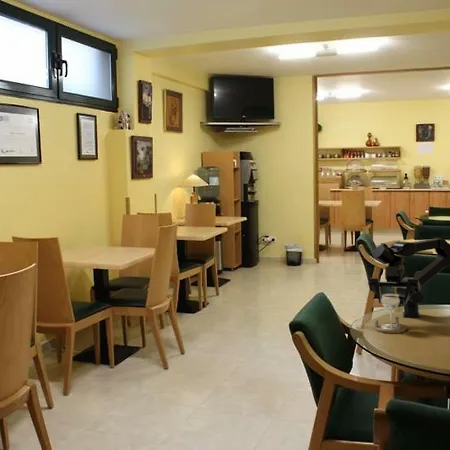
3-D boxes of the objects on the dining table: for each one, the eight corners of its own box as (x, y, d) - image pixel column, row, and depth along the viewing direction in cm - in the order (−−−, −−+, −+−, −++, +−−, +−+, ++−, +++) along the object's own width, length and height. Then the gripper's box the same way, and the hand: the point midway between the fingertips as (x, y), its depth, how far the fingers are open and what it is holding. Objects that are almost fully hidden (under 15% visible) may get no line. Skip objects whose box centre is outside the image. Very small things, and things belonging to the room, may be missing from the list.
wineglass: (388, 330, 207) (387, 297, 206) (378, 325, 214) (377, 294, 213) (404, 327, 209) (403, 295, 208) (394, 323, 215) (393, 292, 214)
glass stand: (375, 325, 218) (375, 316, 218) (405, 325, 215) (405, 316, 215) (375, 333, 208) (374, 324, 207) (406, 333, 205) (406, 324, 204)
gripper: (367, 257, 221) (363, 291, 212) (417, 257, 213) (415, 292, 204) (372, 273, 229) (368, 307, 220) (420, 274, 221) (418, 308, 212)
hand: (392, 303), depth 214 cm, fingers open, 9 cm apart
